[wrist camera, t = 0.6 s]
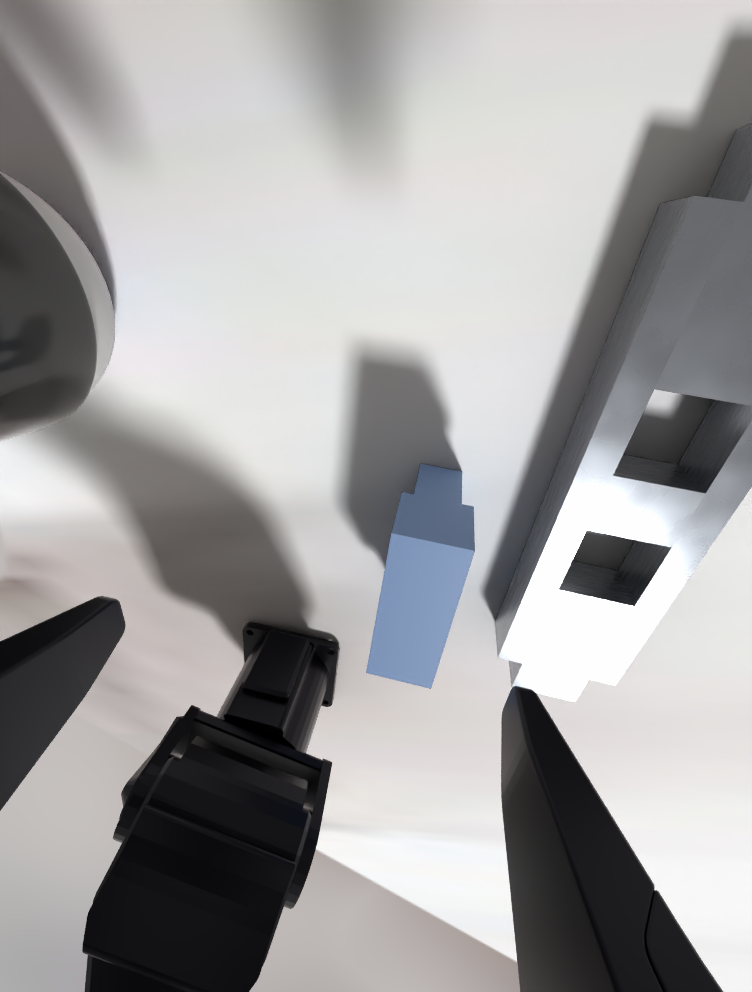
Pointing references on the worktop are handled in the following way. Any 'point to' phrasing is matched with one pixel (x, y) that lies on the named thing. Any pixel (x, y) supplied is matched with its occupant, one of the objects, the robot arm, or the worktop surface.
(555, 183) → the worktop surface
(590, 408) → the rail
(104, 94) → the worktop surface
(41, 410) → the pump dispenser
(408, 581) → the blue notched pillar
